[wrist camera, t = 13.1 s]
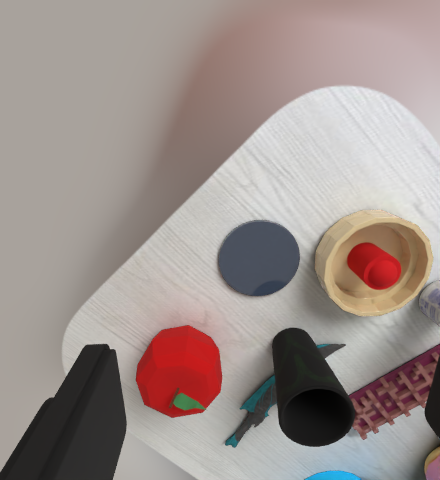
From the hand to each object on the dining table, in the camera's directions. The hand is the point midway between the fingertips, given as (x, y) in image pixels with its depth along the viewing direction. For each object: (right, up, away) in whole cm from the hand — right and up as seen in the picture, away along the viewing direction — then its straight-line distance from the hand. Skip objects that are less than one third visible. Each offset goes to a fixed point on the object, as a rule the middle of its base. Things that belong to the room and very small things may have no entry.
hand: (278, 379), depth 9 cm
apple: (-7, -11, +33) cm, 36 cm away
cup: (+8, -11, +34) cm, 36 cm away
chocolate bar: (+26, -18, +37) cm, 48 cm away
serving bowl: (+16, +2, +30) cm, 34 cm away
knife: (+6, -18, +36) cm, 41 cm away
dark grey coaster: (+3, +2, +29) cm, 30 cm away
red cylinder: (+16, +2, +29) cm, 33 cm away
